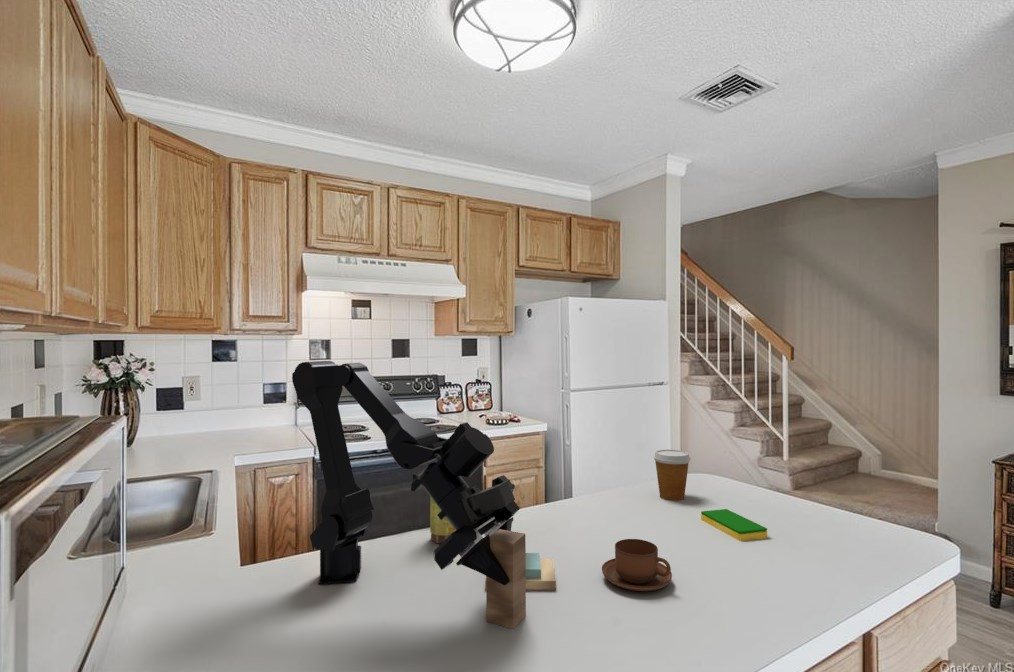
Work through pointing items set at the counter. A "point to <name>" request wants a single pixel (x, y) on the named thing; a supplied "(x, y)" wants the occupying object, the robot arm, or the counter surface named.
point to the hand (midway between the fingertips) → (514, 576)
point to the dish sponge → (734, 524)
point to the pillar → (511, 598)
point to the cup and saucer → (637, 566)
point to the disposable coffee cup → (672, 473)
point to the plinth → (545, 577)
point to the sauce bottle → (439, 523)
